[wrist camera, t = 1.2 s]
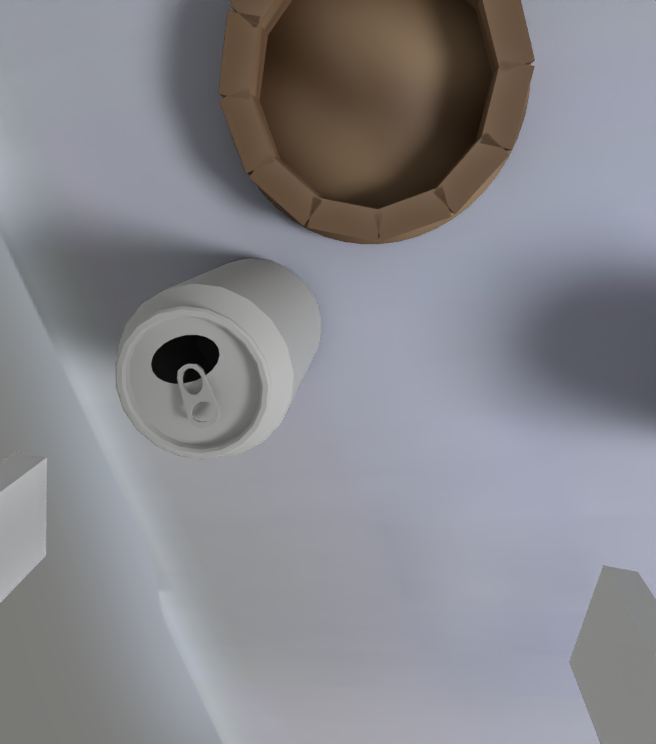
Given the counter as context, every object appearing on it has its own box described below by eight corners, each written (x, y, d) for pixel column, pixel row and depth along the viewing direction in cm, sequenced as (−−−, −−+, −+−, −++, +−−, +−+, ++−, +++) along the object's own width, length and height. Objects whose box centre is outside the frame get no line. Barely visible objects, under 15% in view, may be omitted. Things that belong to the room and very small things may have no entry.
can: (294, 236, 32) (238, 260, 20) (342, 359, 34) (315, 445, 22) (176, 283, 33) (62, 330, 22) (227, 399, 35) (147, 497, 24)
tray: (250, -110, 27) (233, -145, 24) (567, -56, 27) (587, -86, 24) (212, 213, 32) (194, 215, 29) (480, 267, 31) (489, 274, 28)
